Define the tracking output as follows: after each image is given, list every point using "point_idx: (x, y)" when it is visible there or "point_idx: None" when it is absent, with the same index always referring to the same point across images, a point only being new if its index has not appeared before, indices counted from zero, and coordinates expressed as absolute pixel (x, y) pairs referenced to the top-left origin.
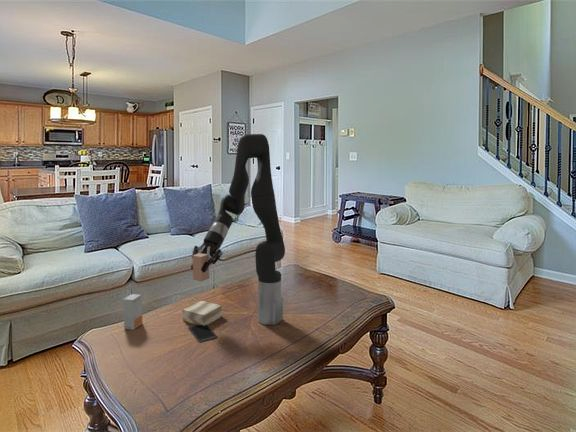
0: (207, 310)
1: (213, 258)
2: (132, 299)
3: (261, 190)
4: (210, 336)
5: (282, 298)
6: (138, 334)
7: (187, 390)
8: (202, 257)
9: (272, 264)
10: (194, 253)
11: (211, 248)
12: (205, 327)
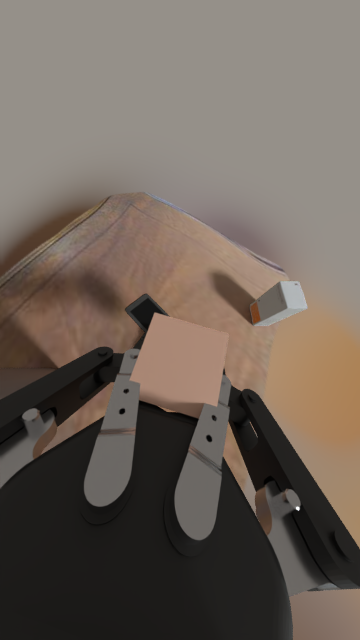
0: None
1: (83, 357)
2: (282, 283)
3: None
4: (135, 308)
5: None
6: (234, 296)
7: (124, 222)
8: (150, 325)
9: None
10: (262, 424)
11: (82, 482)
12: None
